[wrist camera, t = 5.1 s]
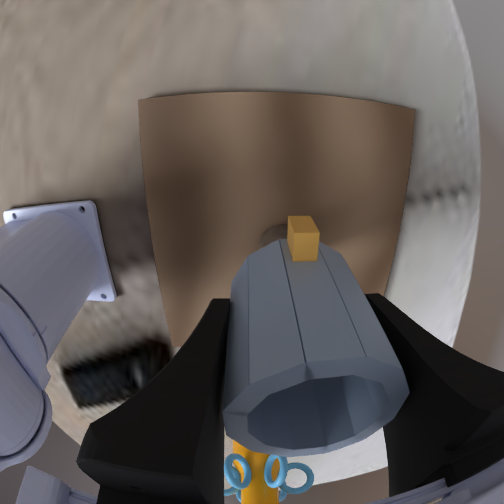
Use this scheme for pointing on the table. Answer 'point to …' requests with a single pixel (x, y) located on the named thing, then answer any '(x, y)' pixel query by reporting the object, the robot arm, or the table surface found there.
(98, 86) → the table surface
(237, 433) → the collar
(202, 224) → the walnut board
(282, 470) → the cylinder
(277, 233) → the silver metal canister
